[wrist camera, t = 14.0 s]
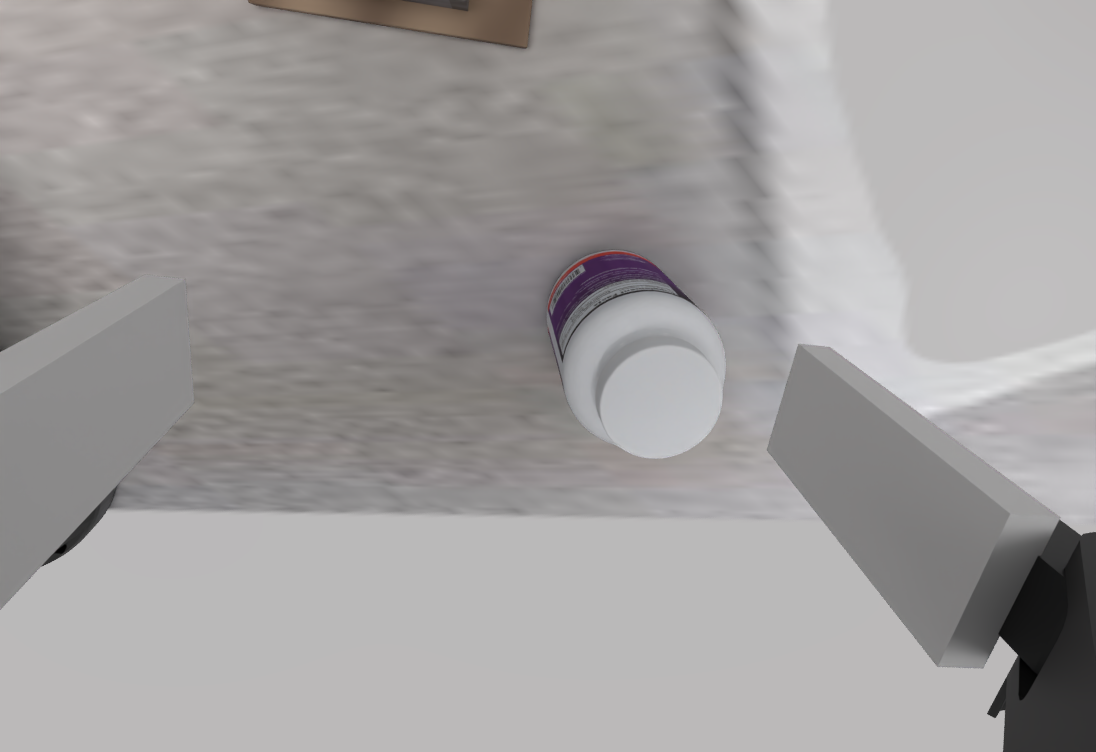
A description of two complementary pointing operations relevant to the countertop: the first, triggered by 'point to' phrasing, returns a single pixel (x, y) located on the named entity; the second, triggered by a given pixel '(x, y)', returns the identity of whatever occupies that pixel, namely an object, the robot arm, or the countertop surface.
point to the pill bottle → (635, 355)
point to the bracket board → (428, 16)
